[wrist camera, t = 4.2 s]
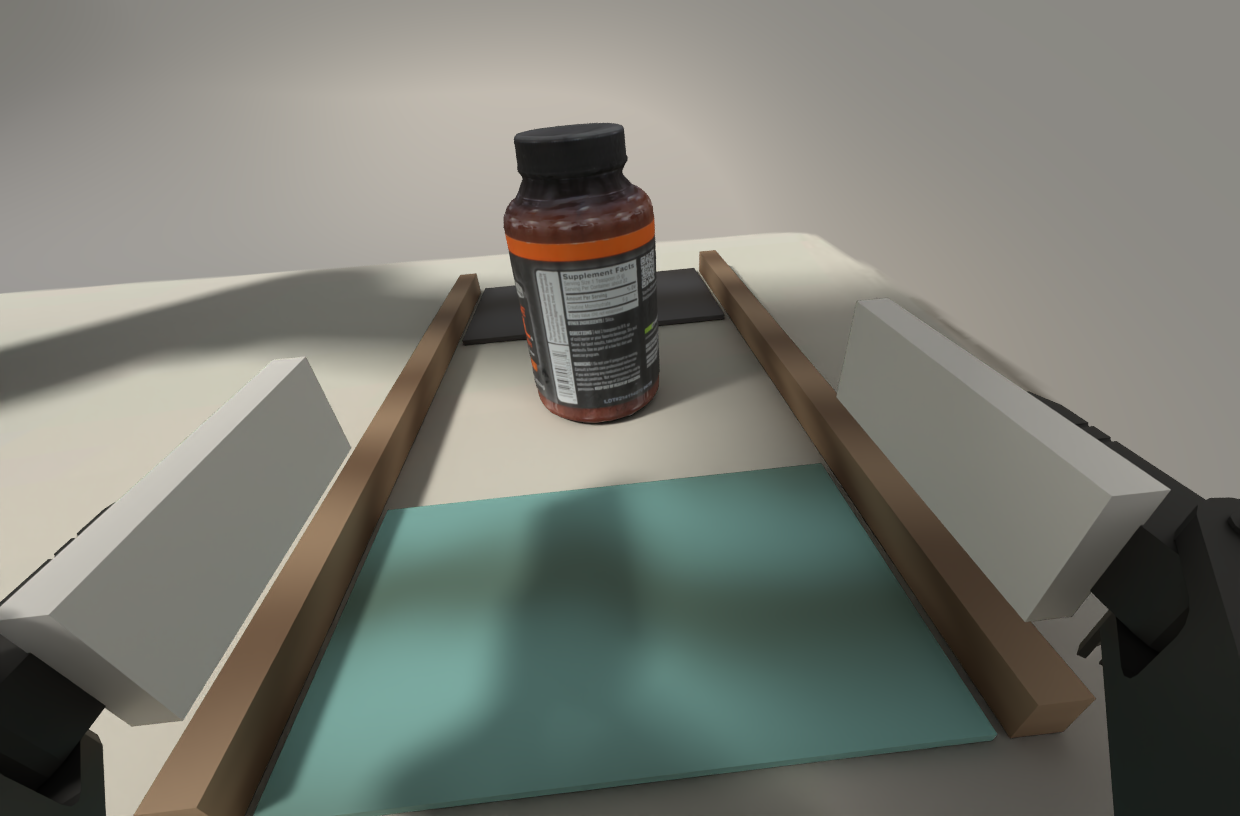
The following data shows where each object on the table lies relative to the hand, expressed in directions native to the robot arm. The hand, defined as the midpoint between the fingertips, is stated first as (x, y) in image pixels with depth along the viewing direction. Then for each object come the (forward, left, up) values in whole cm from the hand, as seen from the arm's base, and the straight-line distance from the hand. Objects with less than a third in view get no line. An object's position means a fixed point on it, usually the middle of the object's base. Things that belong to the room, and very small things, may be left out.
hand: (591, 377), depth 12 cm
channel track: (-3, +9, -6) cm, 12 cm away
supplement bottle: (-3, +9, -7) cm, 12 cm away
